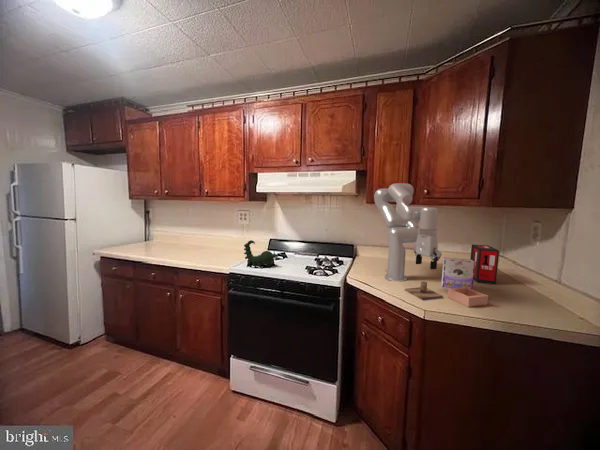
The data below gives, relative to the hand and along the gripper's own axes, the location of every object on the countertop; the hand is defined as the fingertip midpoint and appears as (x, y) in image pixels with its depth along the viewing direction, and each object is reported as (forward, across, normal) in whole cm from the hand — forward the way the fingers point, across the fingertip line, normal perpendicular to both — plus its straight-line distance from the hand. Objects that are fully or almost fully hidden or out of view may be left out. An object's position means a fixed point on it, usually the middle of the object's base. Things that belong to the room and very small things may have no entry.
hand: (425, 266), depth 120 cm
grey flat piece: (+15, -1, 0) cm, 15 cm away
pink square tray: (+15, +11, +14) cm, 24 cm away
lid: (+14, -1, 0) cm, 14 cm away
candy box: (+15, -5, +25) cm, 30 cm away
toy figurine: (+14, -71, -75) cm, 105 cm away
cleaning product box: (+15, -14, +54) cm, 58 cm away
